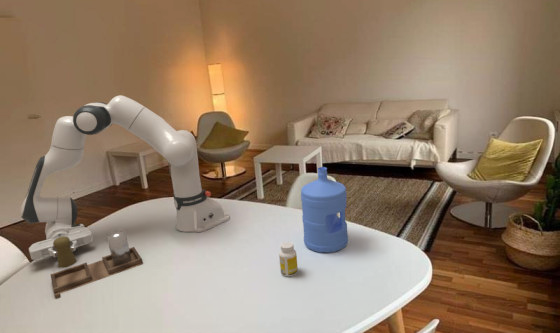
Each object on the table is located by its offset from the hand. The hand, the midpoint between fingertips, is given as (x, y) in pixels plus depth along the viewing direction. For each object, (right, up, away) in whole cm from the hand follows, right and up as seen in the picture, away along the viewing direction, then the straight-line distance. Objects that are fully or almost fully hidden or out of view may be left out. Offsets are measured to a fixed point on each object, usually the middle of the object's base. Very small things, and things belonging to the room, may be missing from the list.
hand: (64, 252), depth 135 cm
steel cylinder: (+20, -3, 0) cm, 21 cm away
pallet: (+14, -6, -4) cm, 16 cm away
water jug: (+92, +2, +4) cm, 92 cm away
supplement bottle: (+78, -4, -12) cm, 79 cm away
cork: (0, -6, +3) cm, 6 cm away
